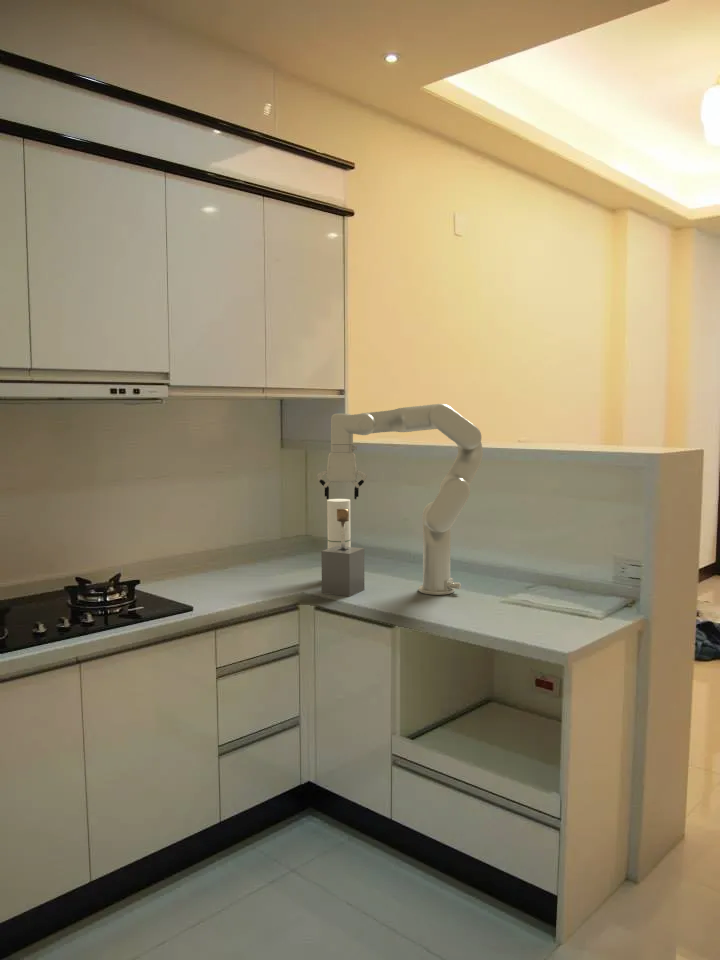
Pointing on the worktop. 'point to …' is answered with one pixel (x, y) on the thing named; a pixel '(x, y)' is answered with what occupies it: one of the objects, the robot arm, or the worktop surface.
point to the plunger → (342, 524)
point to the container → (337, 523)
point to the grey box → (342, 571)
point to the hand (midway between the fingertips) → (341, 498)
